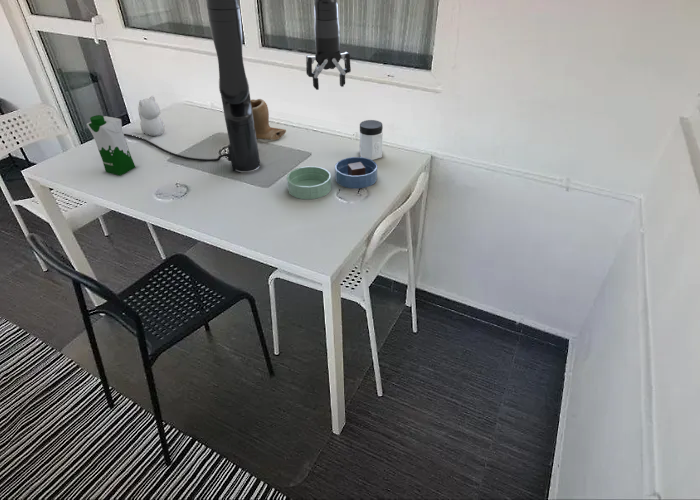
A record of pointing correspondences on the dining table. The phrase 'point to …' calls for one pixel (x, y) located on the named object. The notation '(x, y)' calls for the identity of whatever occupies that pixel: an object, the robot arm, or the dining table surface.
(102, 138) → the milk carton
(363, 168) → the walnut block
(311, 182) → the celadon bowl
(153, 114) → the cat figurine
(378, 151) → the jar
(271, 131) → the tan boot
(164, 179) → the dining table surface
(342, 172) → the blue bowl
